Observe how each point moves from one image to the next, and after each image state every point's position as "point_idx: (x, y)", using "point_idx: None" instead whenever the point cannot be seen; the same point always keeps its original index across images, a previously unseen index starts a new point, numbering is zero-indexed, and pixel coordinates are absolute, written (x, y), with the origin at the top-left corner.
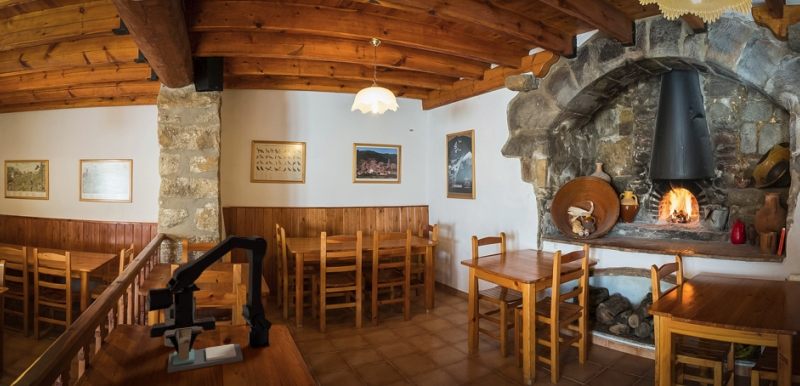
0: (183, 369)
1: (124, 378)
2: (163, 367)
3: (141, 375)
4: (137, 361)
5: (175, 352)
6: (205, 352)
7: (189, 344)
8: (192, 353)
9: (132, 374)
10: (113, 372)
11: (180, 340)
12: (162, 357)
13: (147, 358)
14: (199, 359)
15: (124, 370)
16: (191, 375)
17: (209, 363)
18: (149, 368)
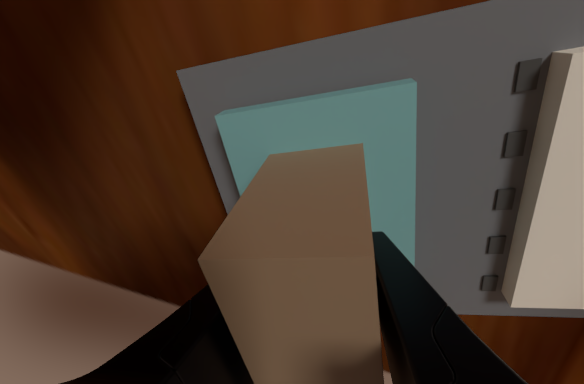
0: None
1: (101, 276)
2: (220, 225)
3: (155, 274)
4: (8, 86)
5: (232, 138)
6: (534, 120)
7: (379, 296)
8: (398, 206)
9: (108, 252)
10: (5, 206)
11: (256, 348)
12: (135, 47)
13: (34, 41)
14: (450, 253)
15: (37, 199)
16: None
17: (514, 308)
18: (149, 214)
